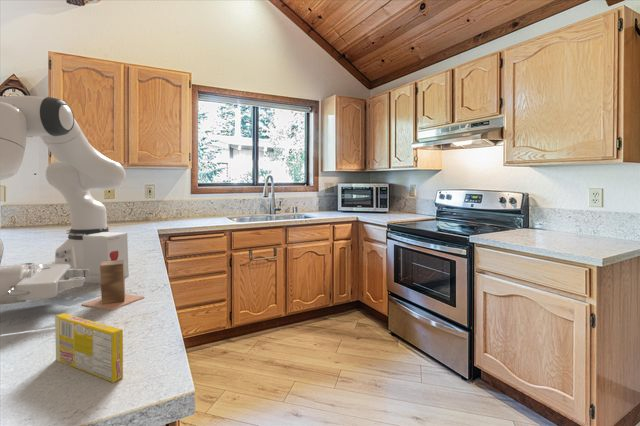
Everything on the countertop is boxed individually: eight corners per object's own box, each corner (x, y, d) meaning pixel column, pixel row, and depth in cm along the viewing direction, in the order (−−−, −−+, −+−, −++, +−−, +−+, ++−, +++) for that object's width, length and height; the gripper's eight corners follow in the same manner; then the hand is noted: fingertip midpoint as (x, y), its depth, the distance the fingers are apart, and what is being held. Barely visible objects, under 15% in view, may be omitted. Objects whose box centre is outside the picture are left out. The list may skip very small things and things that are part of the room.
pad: (82, 306, 90) (81, 304, 90) (116, 294, 99) (116, 292, 99) (112, 311, 87) (111, 309, 87) (144, 298, 96) (144, 296, 96)
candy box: (125, 377, 58) (123, 328, 57) (113, 384, 56) (110, 333, 56) (67, 355, 65) (65, 311, 65) (54, 360, 63) (52, 315, 63)
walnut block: (101, 304, 90) (99, 265, 89) (103, 298, 94) (102, 261, 93) (124, 301, 92) (122, 263, 91) (125, 296, 96) (123, 259, 95)
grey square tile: (44, 302, 92) (43, 301, 92) (77, 292, 101) (77, 291, 101) (69, 307, 89) (68, 306, 89) (101, 296, 98) (101, 295, 98)
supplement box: (108, 285, 108) (106, 236, 107) (83, 283, 110) (81, 235, 109) (130, 277, 117) (128, 232, 116) (106, 275, 119) (104, 231, 118)
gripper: (0, 281, 74) (79, 274, 80) (28, 261, 92) (91, 257, 98) (2, 311, 75) (80, 301, 81) (29, 285, 93) (92, 279, 99)
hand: (86, 277), depth 90 cm, fingers open, 8 cm apart
